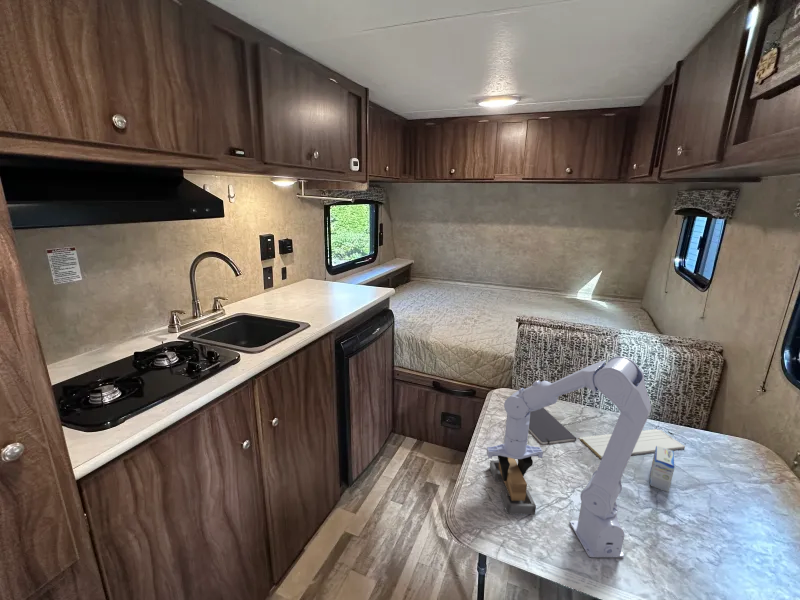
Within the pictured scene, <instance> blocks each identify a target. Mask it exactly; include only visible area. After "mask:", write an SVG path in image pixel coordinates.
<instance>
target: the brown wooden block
mask: <svg viewBox="0 0 800 600" xmlns="http://www.w3.org/2000/svg"><path fill="white" fill-rule="evenodd" d="M508 461H509V463H510V466H509V469H508V474H507V481H504V480H503V481H502V482H503V483H504V486H505V488H506V491H507V493H508V495H510V498H511V500H512V501H525V497H526V490H528V489H527V487H528V483H527V482H526V479H525V477H524V476H523V475H522V473H521V471H520V469H519V467H518V462H517V460H516V459H513V458H508ZM499 471H500V473H501V476H502V471H501V466H500V462H499ZM502 478H503V477H502Z"/></svg>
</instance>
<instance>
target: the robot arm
mask: <svg viewBox="0 0 800 600" xmlns="http://www.w3.org/2000/svg"><path fill="white" fill-rule="evenodd" d="M606 362H607V363H606ZM644 374H645V373H644V372H643V371H642V370H641V368H640V366H638V365H637V363H636V362H635V361H633V359H631V358H629V357H627V356H621V355H620V356H619V355H618V356H613V357H612V358H610V359H608V361H607V359H605V360H601V361H598V362H596V363H593V364H591V365H589V366H585V367H583V368H581V369H579V370H577V371H575V372H573V373H570V374H568V375H566V376H564V377H562V378H560V379H558V380H555V381H553V382H550V381H548V380H542V381H540V380H539V379H538V380H536V381H534V382H533V383H532V385H531V386H528V387H526V388H524V387H521V388H519V389H518V390H517V391H515V392H513V393H512V394H511V395H509V396H508V397H507V398H506V399H505V400H504V403H503V404H504V405H503V408H504V411H505V413H506V420H505V421H506V422H505V432H504V439H503V440H504V442H503V443H501V444H497V445H493V446H486V455H487V457H488V459H493V457H497V459H498V461H499V462H500V466H501V471H502V477H503V480H504V481H507V474H508V469H509V466H510V463H509V461H508V458H513V459H515V460H517V465H518V467H519V469H520V471H521V473H522V475H523V477H524V476H525V474H526V473H527V471H528V470H529V469H530V468H531V467H532V466H533V462H534V460H533V459H532V457H537V458H539V459H543V454H544V451H543V449H542V448H541V446H533V445H529V444H528V437H529V432H530V431H529V420H530V411H536V410H539V409H541V408H544V409H545V408H546V407H549V406H552V405H554V404H557V402H558V399H559V396H563V395H565V394H568V393H572V392H575V391H578V390H581V389H585V388H587V389H588V390H590V391H592V392H593V393H597V392H598V391H599V392H600V393H601V394H602V395H603V396H604V397H605V398H607V399H608V400H609V401H610V402H611V403H613V404H614V405H615V407H617V409H618V410H619V412H620V414H619V415H618V418H617V420H616V423H615V424H614V425H615V426H614V428H613V430H612V433H611V434H612V435H611V438H610V440H609V442H608V445H607V447H606V450H605V452H604V455H603V457H602V458H600V462H599V465H598V466H597V469H596V470H594V472H593V473H592V475H591V478H590V480H589V481H588V483H587V484H586V486H585V488H584V489H582V491H581V493H580V494H579V495H580V496H579V497H580V502H581V503H580V508H579V513H578V519H577V520H576V519H575V520H572V519H571V520H569V525H570V526H571V528H572V529H573V531H574V533H575V535H576V537H577V539H578V540H579V541H580V543H581V545H582V547H583V549H584V551H585V552H586V554H587V556H588V557H589V558H624V557H625V553H623V550H622V549H623V544H624V539H625V532H624V530H623V528H622V526H621V523H620V521H619V518H618V505H617V502H616V501H617V499H618V497H619V495H620V494H621V493H622V491H623V486H622V485H623V484H622V477H623V475H624V472H625V470H626V467H628V466H627V465H628V463H629V460H630V459H631V456H632V455H631V454H632V452H633V450H634V448H635V445H636V443H637V441H638V439H639V436H640V434H641V432H642V431H644V427H645V425H646V423H647V420H648V418H649V417H650V414H651V411H652V405H651V401H650V397H649V394H648V391H647V387H646V383H645V375H644ZM504 481H503V482H504Z"/></svg>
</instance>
